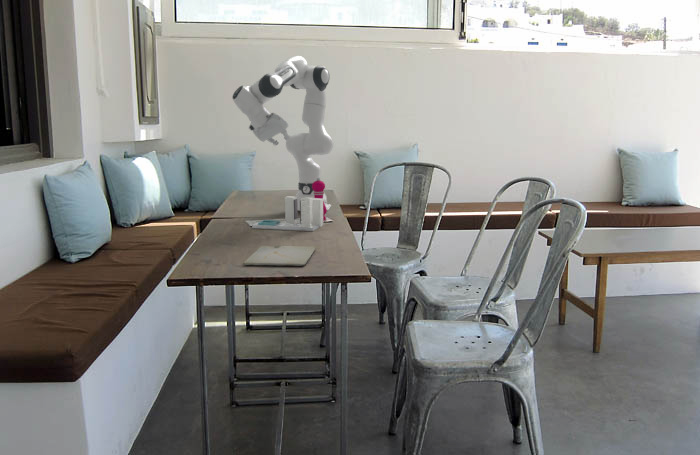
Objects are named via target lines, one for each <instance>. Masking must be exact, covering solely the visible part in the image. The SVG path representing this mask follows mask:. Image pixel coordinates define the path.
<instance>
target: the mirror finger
mask: <svg viewBox="0 0 700 455" xmlns="http://www.w3.org/2000/svg"><path fill="white" fill-rule="evenodd" d="M313 224H319V228H321V227H323V226H324V221H323V199H321V198H314V199H313Z"/></svg>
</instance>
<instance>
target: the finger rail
mask: <svg viewBox="0 0 700 455" xmlns="http://www.w3.org/2000/svg"><path fill="white" fill-rule="evenodd" d="M299 219H300V222H301V223H298V222H297V223H285V222H281V221H280V220H276V219H275V220H274V219H273V220H272V219H263V220H260V221H258V222H255V223H252V224H251V229H259V230H260V229H265V230H279V231H280V230H283V231H284V230H285V231H305V232H315V231H316V230H318V229H319V228H320V227H319V224H313V197H303V198H301V200H300V211H299Z"/></svg>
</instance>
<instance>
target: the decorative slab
mask: <svg viewBox="0 0 700 455" xmlns="http://www.w3.org/2000/svg"><path fill="white" fill-rule="evenodd" d="M316 248H317V246H299V245H297V246H295V245H284V246H282V245H274V246H270V245H260V247H259V248H258V249H256V250H255V252H253V253H252V254H251V255H250V256H249V257H248V258H247V259H246V260H245V261H244V262H243V266H295V267H296V266H297V267H300V266H301V267H302V266H305V265H306V264H307V263H308V261H309V260H310V259H311V256H313V253H314V252H315V251H316Z"/></svg>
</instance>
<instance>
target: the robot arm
mask: <svg viewBox="0 0 700 455" xmlns="http://www.w3.org/2000/svg"><path fill="white" fill-rule="evenodd" d="M330 79H331V78H330V72H329V70H328V68H327V67H325V66H324V65H308V62H307V60H306V59H305V58H304V57H303V56H301V55H293V56H291V57H288V58H287V59H285V60H284V61H282V62H281V63H280V64H279V65H278V66H276V68H275V70H274V72H273V73H271V72H270V73H266V74H264V75H263V76H262V77H260V79H258V80H257V81H255V82H254V83H253V84H250V85H246V86H244V85H241V86H238V88H236V90H235V91H234V93H233V94H232V101H233V103H234V104H235V105H236V106H237V108H238V110H240V111H241V112H242V113H243V115H245V116H247V118H248V120H249V122H250V124H249V126H248V129H249V131H251V132H252V133H253V134H254V136H255V137H256V138H257V139H258V140H260V141H261V142H264V143H265V141H268V142H269V143H271V144H272V145H273V146H275V147H276V146H277V145H279V142H278V140H277V139H274V137H275V136H277V135H279V134H281V135H283V139H284V140H285V147H286V150H287V151H288V153H290V154H291V155H292V156H293V158H294V160H295V162H296V164H297V168H298V181H299V182H298V184H297V186H298V187H297V189H298V191H297V192H296V194H295V196H296V199H297V205H298V211H299V212H300V200H301V198H303V197H313V199H314V198H315V197H314V194H313V193H314V192H313V191H314V190H313V188H312V184H313V183H314V182H315V181H317V178H318V177H319V178H320V181H322V179H321V178H322V177H321V176H322V174H321V173H322V170H321V166H320V165H319V164H318V163H317V162H315V161H314V159H313V157H312V156H324V155H328V154H331V152H332V151H333V149H334V141H333V139H332V136H331V135H329V133H328V132H327V130H326V127H325V112H326V104H327V92H326V89H327V86H328V84H329V81H330ZM289 86H290V87H291V88H292V89H295V90H305V92H306V93H305V96H304V102H303V107H302V114H301V120H302V123H303V124H305V126H307V127H308V129H309V132H296V133H292V134H288V132H287V131H288V130H287V129H288V128H289V124H288V122H287V121H286V120H285V119H284V118H283V117H282V116H281V115H279V114H278V113H276V112H270V111H269V110H268V109H267V108H266V106H264V105H265V104H266V103H267V102H268V101H270V100H272V99H273V98H275V97H277V96H278V95H280V94H281V92H282V91H283V87H289ZM323 201H324V204H325V206H326V209H327V211H329V210H330V208H331V207H332V205H331V204H330V203H329V204H328V202H327V194H326V193H325V192H324V194H323Z"/></svg>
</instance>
